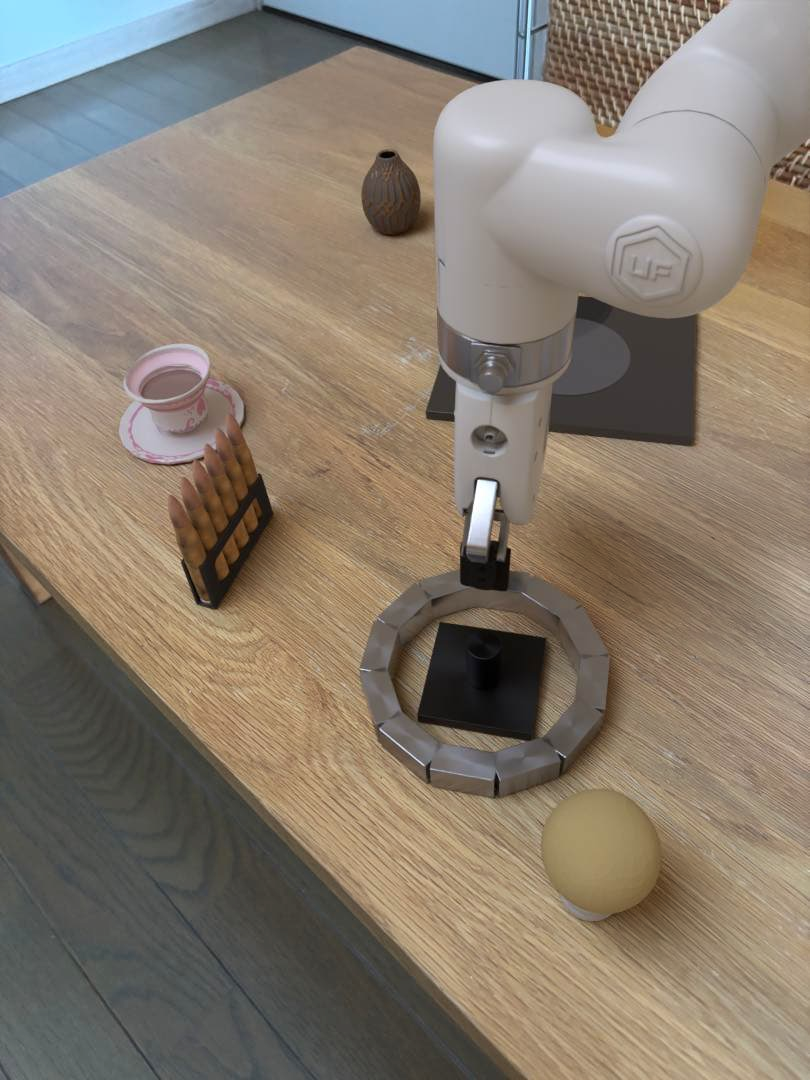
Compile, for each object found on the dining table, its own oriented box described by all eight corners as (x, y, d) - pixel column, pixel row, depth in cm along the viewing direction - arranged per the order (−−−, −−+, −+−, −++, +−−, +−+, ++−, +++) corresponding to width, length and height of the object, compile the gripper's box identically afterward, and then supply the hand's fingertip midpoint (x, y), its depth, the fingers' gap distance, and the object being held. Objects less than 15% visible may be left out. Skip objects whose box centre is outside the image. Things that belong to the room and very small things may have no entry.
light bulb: (569, 968, 50) (585, 913, 42) (516, 866, 54) (522, 799, 46) (663, 919, 51) (695, 857, 43) (605, 824, 55) (625, 752, 47)
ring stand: (546, 644, 64) (550, 605, 60) (531, 741, 59) (535, 705, 55) (440, 628, 65) (437, 589, 62) (417, 722, 60) (413, 685, 57)
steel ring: (612, 604, 66) (616, 584, 64) (592, 817, 55) (597, 800, 53) (396, 574, 69) (393, 554, 67) (338, 769, 59) (333, 751, 57)
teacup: (207, 478, 78) (190, 426, 73) (96, 452, 81) (72, 401, 76) (266, 393, 85) (253, 342, 80) (161, 373, 88) (143, 322, 83)
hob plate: (694, 312, 89) (696, 303, 88) (691, 446, 76) (693, 437, 75) (464, 295, 93) (464, 286, 92) (426, 418, 81) (425, 410, 80)
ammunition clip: (255, 508, 75) (223, 402, 66) (274, 513, 74) (245, 407, 65) (195, 604, 68) (151, 502, 59) (216, 610, 68) (174, 507, 59)
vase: (422, 240, 101) (417, 167, 94) (363, 243, 101) (355, 170, 95) (422, 209, 105) (418, 137, 99) (366, 212, 106) (358, 141, 99)
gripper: (555, 446, 42) (532, 641, 55) (588, 250, 52) (562, 452, 65) (404, 428, 43) (417, 622, 56) (466, 240, 54) (465, 440, 67)
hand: (495, 530), depth 61 cm, fingers open, 9 cm apart
